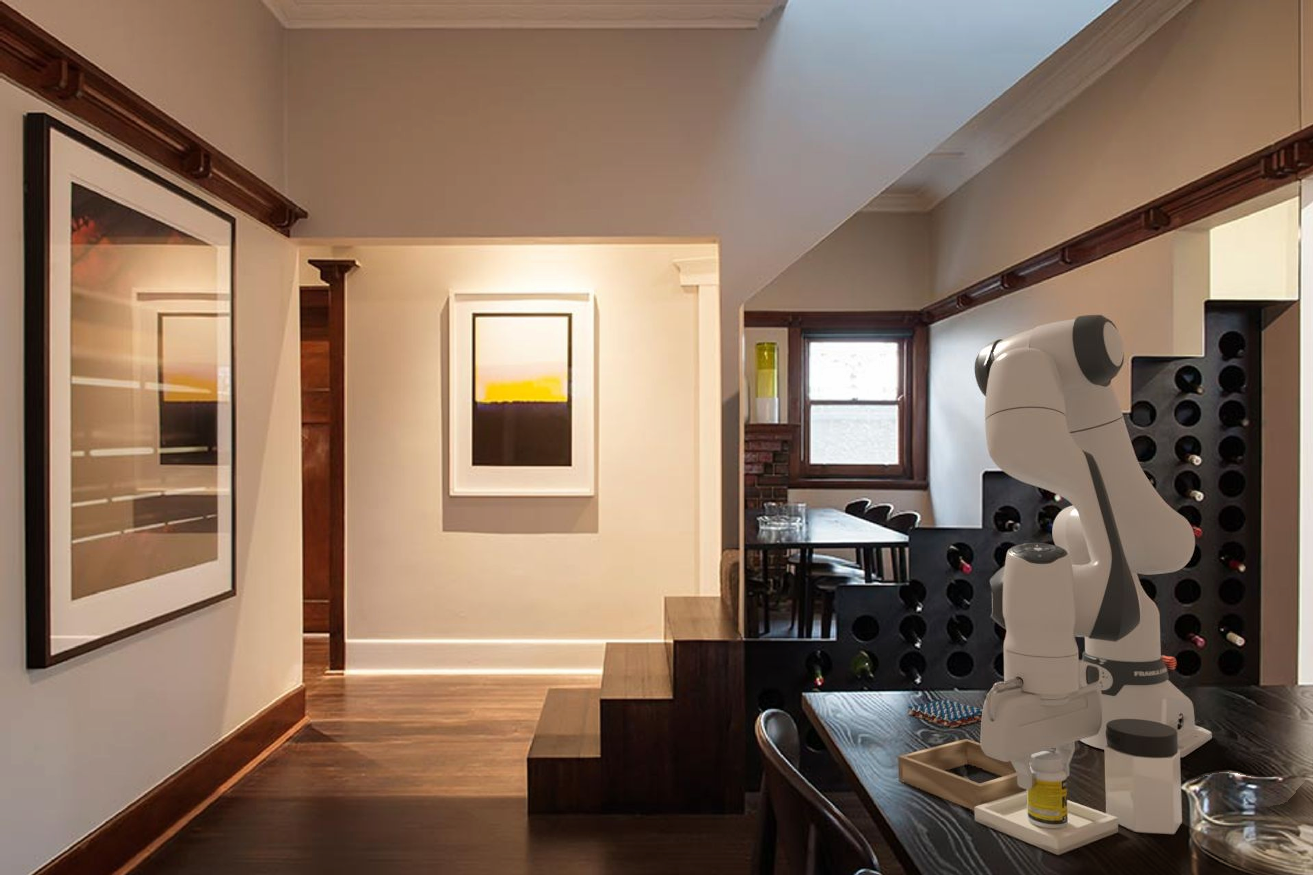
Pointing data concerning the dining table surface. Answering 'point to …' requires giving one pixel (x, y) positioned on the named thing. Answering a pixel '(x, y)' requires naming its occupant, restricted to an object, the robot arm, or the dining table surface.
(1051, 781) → the supplement bottle
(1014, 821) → the tray
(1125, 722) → the jar
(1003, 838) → the dining table surface
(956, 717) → the woven mat
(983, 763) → the frame
